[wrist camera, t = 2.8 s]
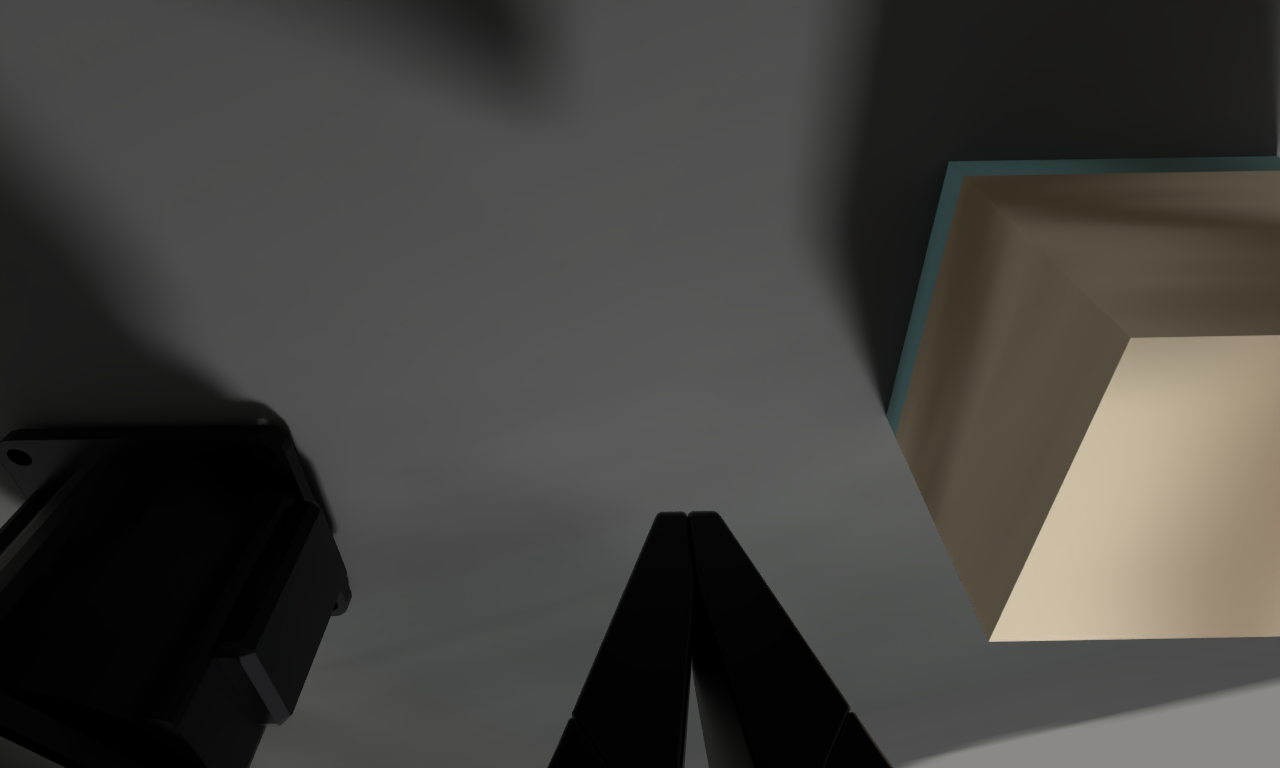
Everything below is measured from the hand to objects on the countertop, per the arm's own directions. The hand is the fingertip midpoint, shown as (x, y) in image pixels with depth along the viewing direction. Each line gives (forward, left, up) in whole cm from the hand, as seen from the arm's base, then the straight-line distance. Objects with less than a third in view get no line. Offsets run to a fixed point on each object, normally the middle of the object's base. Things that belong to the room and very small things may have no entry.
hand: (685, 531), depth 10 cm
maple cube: (+8, 0, -6) cm, 10 cm away
